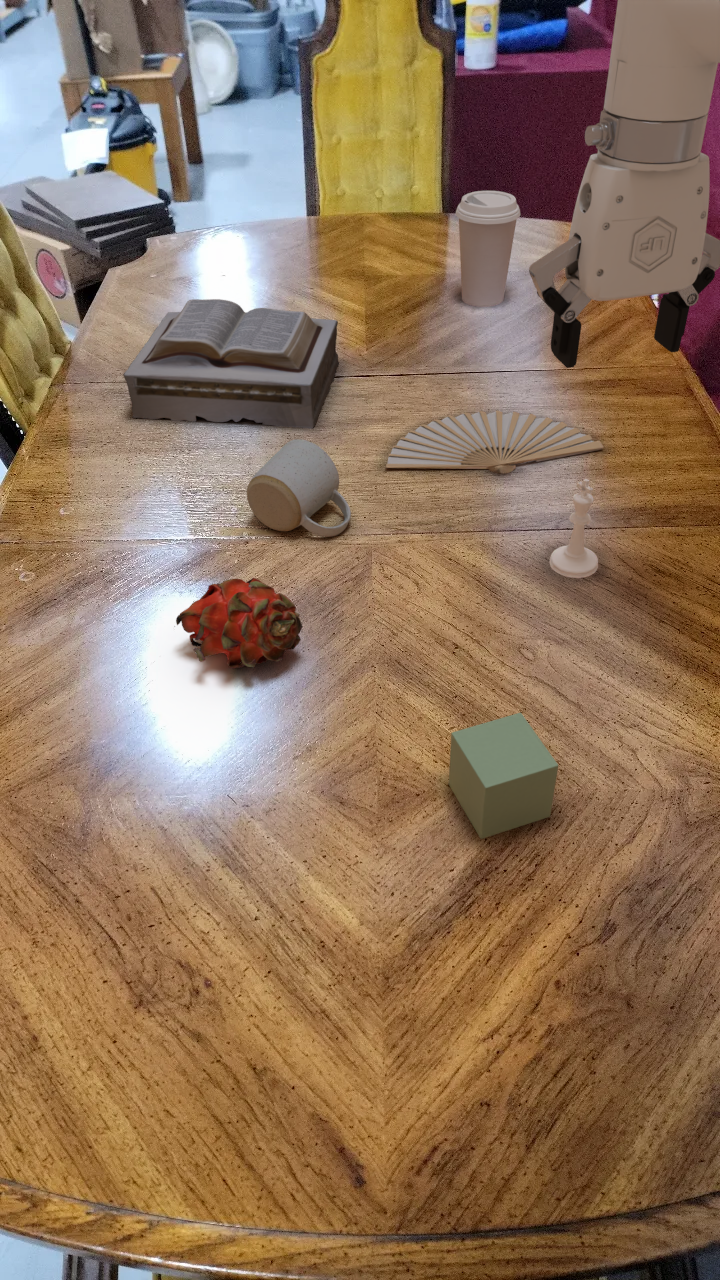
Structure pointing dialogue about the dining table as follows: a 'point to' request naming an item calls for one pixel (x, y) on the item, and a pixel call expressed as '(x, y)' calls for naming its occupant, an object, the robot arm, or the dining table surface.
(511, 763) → the block
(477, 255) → the coffee cup
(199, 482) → the dining table surface
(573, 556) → the chess piece
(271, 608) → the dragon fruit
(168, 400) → the bible
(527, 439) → the hand fan
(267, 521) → the ceramic mug
